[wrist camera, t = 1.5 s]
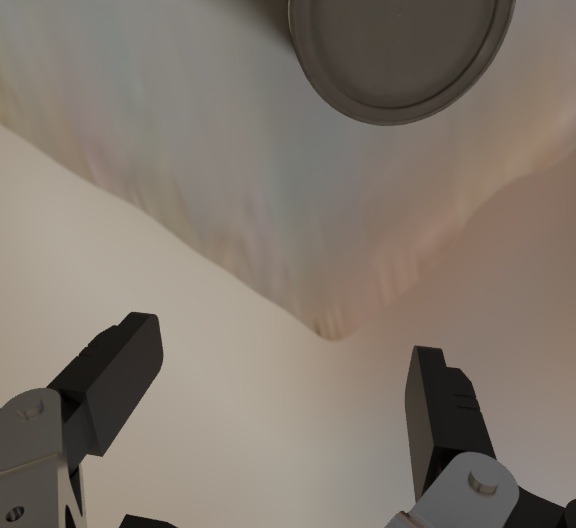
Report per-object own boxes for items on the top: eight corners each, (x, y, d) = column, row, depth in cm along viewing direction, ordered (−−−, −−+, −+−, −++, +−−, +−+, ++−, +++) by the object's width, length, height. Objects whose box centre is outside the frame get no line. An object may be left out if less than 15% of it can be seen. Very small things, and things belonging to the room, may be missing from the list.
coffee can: (437, 55, 32) (527, 82, 20) (312, 103, 34) (328, 154, 22) (411, -108, 27) (511, -201, 15) (266, -41, 29) (253, -77, 17)
